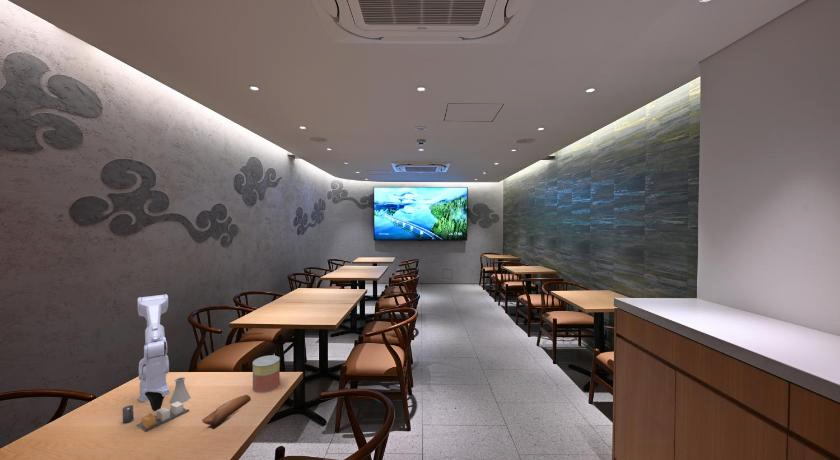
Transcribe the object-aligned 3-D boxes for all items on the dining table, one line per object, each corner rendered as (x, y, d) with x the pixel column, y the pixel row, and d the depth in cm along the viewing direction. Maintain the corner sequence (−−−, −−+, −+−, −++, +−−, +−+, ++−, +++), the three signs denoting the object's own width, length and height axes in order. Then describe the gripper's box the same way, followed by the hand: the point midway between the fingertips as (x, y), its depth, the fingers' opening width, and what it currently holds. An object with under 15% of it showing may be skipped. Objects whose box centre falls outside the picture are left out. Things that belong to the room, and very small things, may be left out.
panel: (135, 427, 116) (135, 423, 116) (178, 408, 129) (178, 404, 129) (146, 434, 113) (145, 430, 112) (189, 413, 125) (189, 409, 125)
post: (117, 424, 118) (117, 409, 118) (132, 418, 122) (132, 403, 122) (123, 428, 116) (123, 412, 116) (138, 421, 120) (138, 406, 119)
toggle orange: (142, 425, 116) (141, 416, 116) (150, 421, 119) (150, 413, 118) (147, 428, 115) (147, 420, 114) (155, 424, 117) (155, 416, 117)
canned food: (283, 379, 152) (283, 355, 152) (273, 392, 141) (273, 365, 140) (259, 380, 151) (259, 355, 151) (247, 393, 140) (247, 366, 140)
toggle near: (170, 411, 124) (170, 404, 124) (177, 408, 127) (177, 401, 126) (175, 414, 123) (175, 407, 122) (183, 411, 125) (183, 403, 125)
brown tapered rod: (234, 399, 135) (240, 386, 134) (246, 409, 134) (253, 397, 133) (195, 425, 118) (202, 411, 117) (208, 437, 117) (216, 423, 116)
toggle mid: (156, 418, 120) (156, 410, 120) (164, 414, 123) (164, 407, 122) (162, 421, 119) (162, 413, 118) (169, 417, 121) (169, 410, 121)
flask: (179, 408, 128) (178, 384, 128) (164, 406, 130) (164, 382, 130) (195, 398, 136) (195, 375, 135) (181, 396, 137) (180, 373, 137)
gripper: (133, 373, 118) (134, 409, 118) (152, 383, 111) (153, 421, 112) (156, 365, 124) (156, 400, 125) (175, 374, 118) (176, 410, 118)
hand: (156, 409), depth 119 cm, fingers closed
